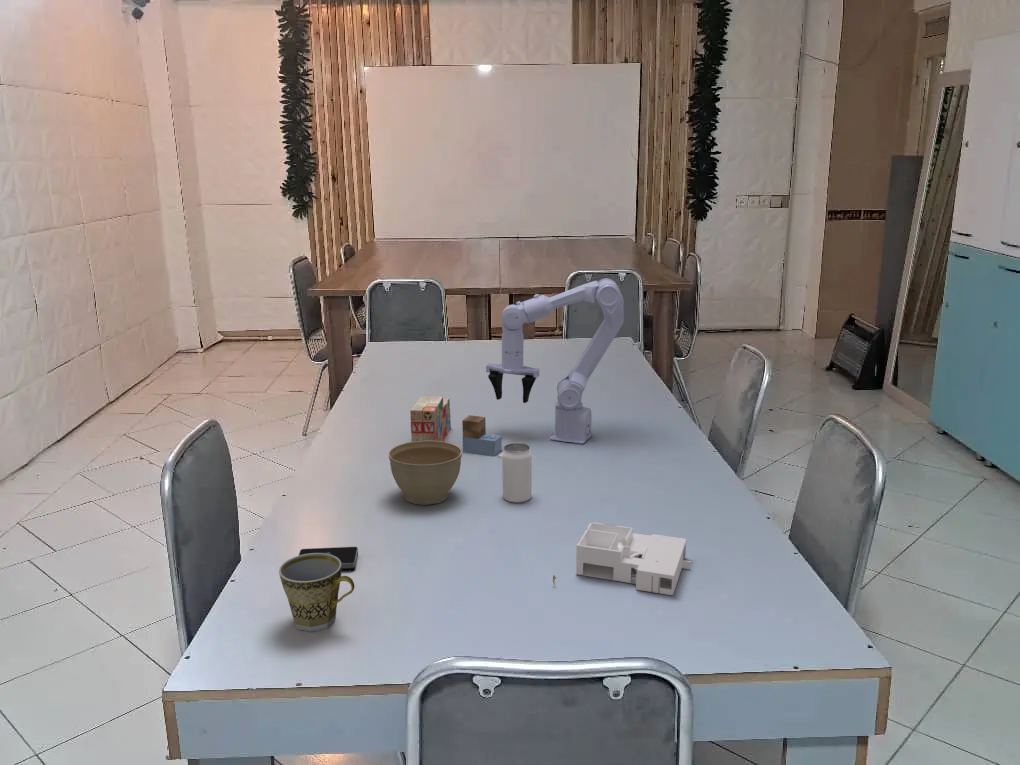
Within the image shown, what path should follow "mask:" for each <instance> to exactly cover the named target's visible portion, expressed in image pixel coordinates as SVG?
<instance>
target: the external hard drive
mask: <svg viewBox="0 0 1020 765" xmlns="http://www.w3.org/2000/svg"><path fill="white" fill-rule="evenodd" d="M309 553H326V554H331V555H333V556H336V557H337V558H339V559H340V560H341V562H342V571H341V572H354V571H355V570H356V567H357V562H358V557H359V547H358V546H339V547H338V546H337V547H334V546H333V547H315V548H311V547H310V548H302V549H300V550H299V553H298V555H297V556H299V555H303V554H309Z"/></svg>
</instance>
